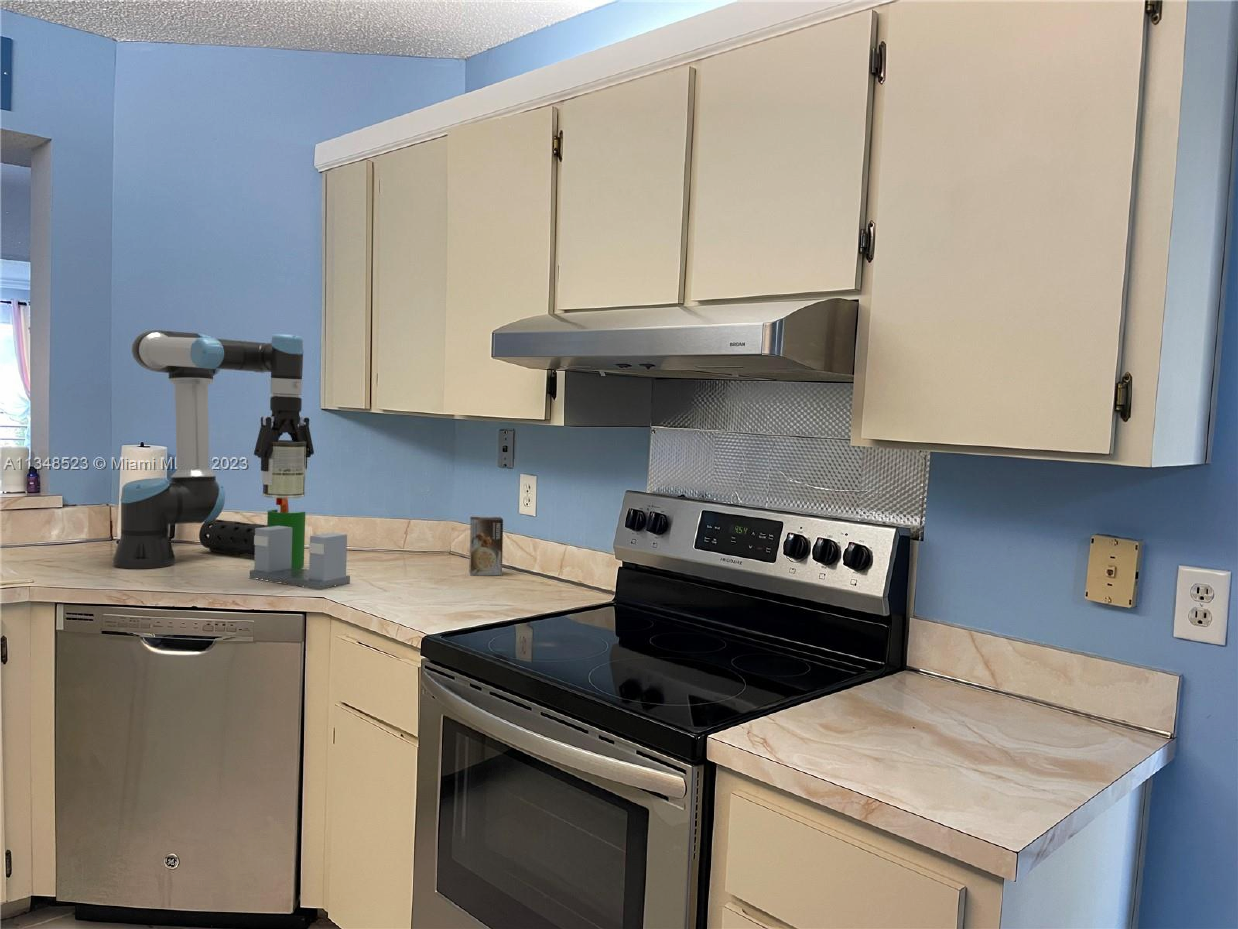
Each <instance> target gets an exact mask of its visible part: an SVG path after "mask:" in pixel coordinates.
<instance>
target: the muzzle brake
mask: <svg viewBox="0 0 1238 929" xmlns="http://www.w3.org/2000/svg"><path fill="white" fill-rule="evenodd" d="M263 527H267V524H260V523H248V522H241V521H237V520H235V521H234V520H223V519H218V518H216V519H215V520H213V521H209V522H203V523H202V525H201V526H200V529H199V534H198V537H199V541H200V544H201V545H202V547H204V548H205V549H209V552H211V551H214V552H213V553H219V552H221V553H220V554H229V555H238V556H244V555H248V556H249V555H250V556H255V545H254V536H255V528H263Z"/></svg>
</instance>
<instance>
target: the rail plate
mask: <svg viewBox="0 0 1238 929" xmlns="http://www.w3.org/2000/svg"><path fill="white" fill-rule="evenodd" d="M251 578H258V579H263V580H268V581H267V582H269V581H272V582H271V583H275V582H281V583H286V584H285V585H287V584H290V585H289V586H293V585H299V586H304V587H303V588H305V587H308V588H307V589H311V588H313V590H317V589H321V590H325V589H324V588H326V589H328V588H327V587H330V588H332V587H331V586H335V585H340V586H344V585H348V584H347V583H349V584H350V583H351V575H348V574H346V577H342V578H337V579H332V580H327V581H320V580H314V579H309V568H303V567H302V568H296V567H291V568H289V569H284V570H278V571H272V572H264V571H258V570H254V569H252V570H249V579H251ZM263 580H262V581H263ZM281 583H280V584H281ZM343 584H344V585H343ZM299 586H298V587H299ZM335 587H336V586H335Z"/></svg>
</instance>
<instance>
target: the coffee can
mask: <svg viewBox="0 0 1238 929" xmlns="http://www.w3.org/2000/svg"><path fill="white" fill-rule="evenodd" d="M268 443H273V452H272V454H271V456H270V458H269V459H273V479H272V485H266V484H262V497H265V498H272V499H276V498H287V499H299V498H304V497H305V496H306V495H305V492H306V491H305V490H306V489H305V488H306V486H305V485H306V469H305V454H306V442H305V441H301V442H294V441H292V439H291V440H289V439H287V440H285V439H284V440H283V439H279V440H278V442H269V441H268Z"/></svg>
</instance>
